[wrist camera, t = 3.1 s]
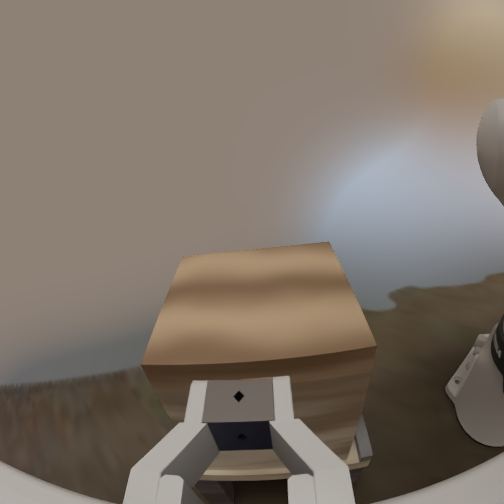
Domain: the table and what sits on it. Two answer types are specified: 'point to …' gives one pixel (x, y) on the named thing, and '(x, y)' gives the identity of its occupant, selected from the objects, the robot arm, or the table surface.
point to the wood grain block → (266, 339)
